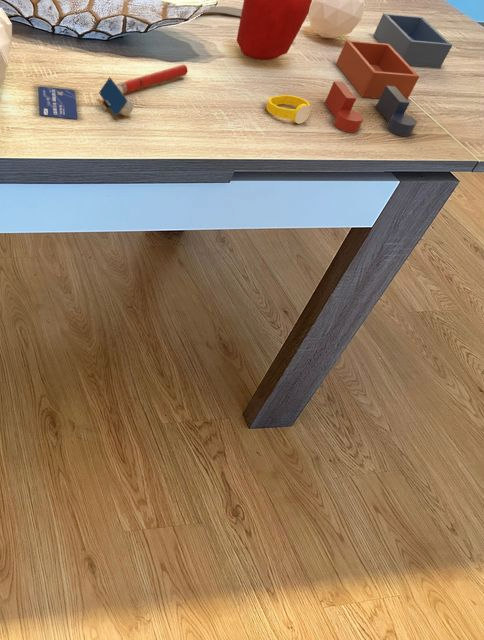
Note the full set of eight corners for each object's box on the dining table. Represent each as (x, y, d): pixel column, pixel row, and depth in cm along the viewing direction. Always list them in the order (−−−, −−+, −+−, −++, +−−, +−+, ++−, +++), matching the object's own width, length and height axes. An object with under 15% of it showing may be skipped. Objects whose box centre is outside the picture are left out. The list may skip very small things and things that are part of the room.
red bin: (407, 100, 119) (419, 76, 116) (362, 97, 118) (373, 72, 115) (377, 67, 127) (389, 43, 124) (335, 63, 126) (346, 39, 123)
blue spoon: (415, 137, 110) (427, 115, 108) (392, 135, 110) (404, 113, 107) (390, 107, 116) (401, 86, 114) (369, 106, 116) (379, 85, 113)
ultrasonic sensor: (122, 125, 105) (137, 104, 103) (110, 120, 104) (125, 99, 102) (105, 101, 108) (119, 81, 106) (94, 96, 107) (107, 76, 105)
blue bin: (440, 68, 130) (452, 45, 127) (399, 64, 129) (411, 41, 126) (411, 39, 138) (422, 16, 135) (372, 35, 137) (383, 13, 134)
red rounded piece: (252, 72, 120) (283, -15, 110) (215, 44, 126) (241, -41, 116) (301, 66, 124) (335, -19, 114) (263, 39, 130) (292, -44, 120)
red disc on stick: (361, 133, 109) (372, 111, 107) (338, 131, 109) (349, 109, 106) (340, 103, 115) (349, 82, 113) (318, 102, 115) (327, 80, 112)
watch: (292, 87, 112) (321, 101, 108) (287, 105, 114) (316, 120, 110) (262, 94, 110) (291, 108, 106) (257, 112, 112) (286, 127, 108)
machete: (164, 19, 128) (154, -2, 130) (159, 29, 130) (149, 8, 131) (282, 20, 137) (271, 0, 139) (275, 29, 139) (264, 10, 141)
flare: (115, 98, 108) (107, 93, 109) (186, 77, 115) (178, 73, 116) (117, 87, 107) (109, 82, 108) (189, 67, 114) (181, 62, 115)
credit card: (77, 119, 103) (77, 119, 103) (39, 115, 102) (39, 115, 102) (74, 90, 108) (74, 90, 108) (38, 86, 108) (38, 86, 108)
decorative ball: (278, 37, 137) (312, -31, 132) (328, 58, 139) (363, -8, 133) (293, 42, 129) (330, -30, 124) (346, 65, 131) (384, -6, 125)
